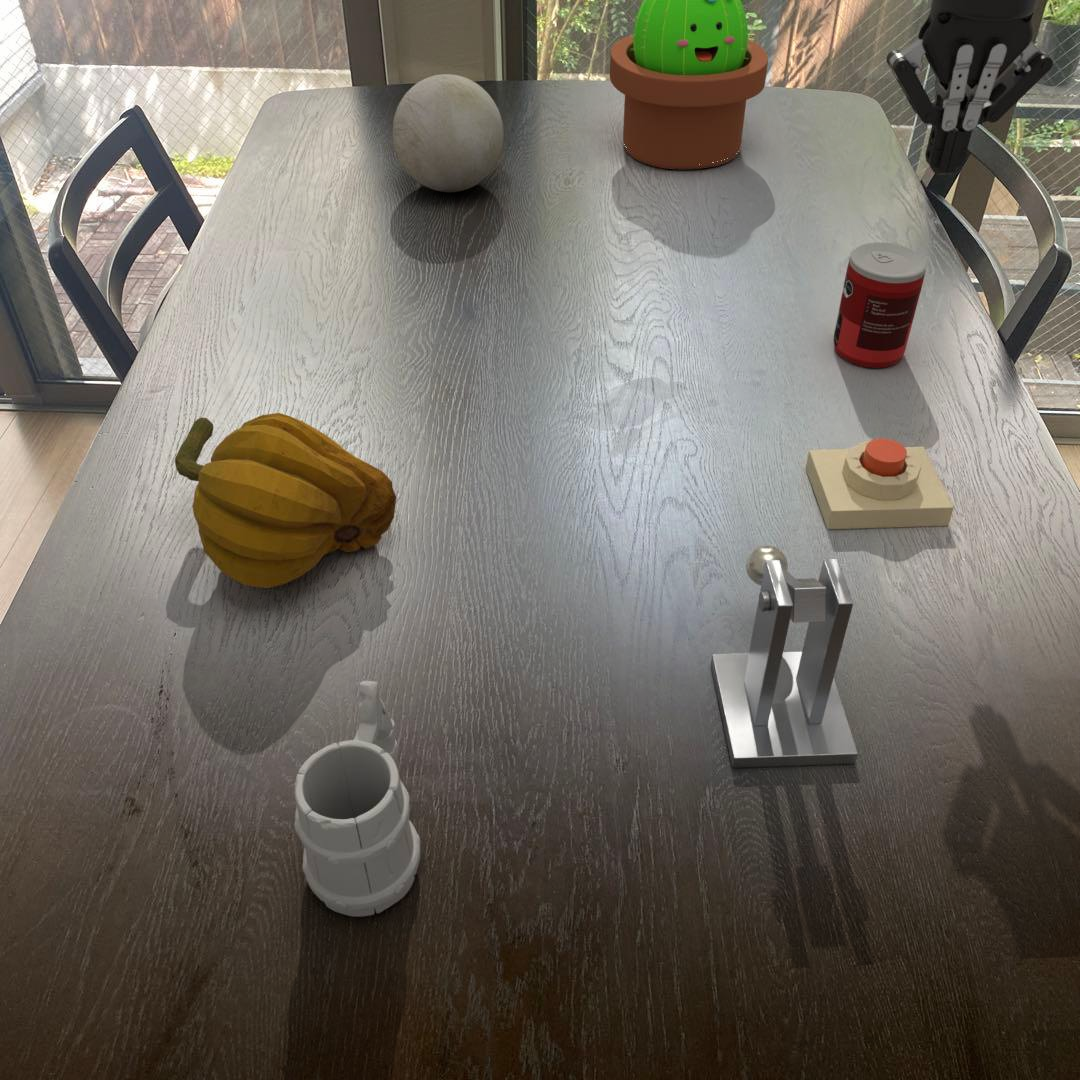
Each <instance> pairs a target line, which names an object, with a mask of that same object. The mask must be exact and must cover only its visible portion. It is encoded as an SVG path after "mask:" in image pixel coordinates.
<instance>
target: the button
mask: <svg viewBox="0 0 1080 1080" xmlns="http://www.w3.org/2000/svg"><path fill="white" fill-rule="evenodd" d="M869 441H870V442H868V444H867V445H866V448H865V452H864V457H863V461H862V464H863V467H864V468H865V469H866V470H867V471H869V472H870V473H872V474H875V475H879V476H882V477H894V476H897V475H899V474H900V473H901V472H902V470H903V467H904V463H905V459H906V456H907V451H906V449H905V447H906V446H904V445H903V444H901V442H899V441H896V440H894V439H891V438H885V437H884V438H883V437H881V438H874V439H871V440H869Z"/></svg>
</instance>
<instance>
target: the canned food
mask: <svg viewBox="0 0 1080 1080" xmlns="http://www.w3.org/2000/svg"><path fill="white" fill-rule="evenodd" d="M926 270H927V261H926V259H925V258H924V257H923V256H922V254H920V253H918V251H916V250H914V249H912V248H909V247H907V246H903V245H901V244H898V243H897V244H896V243H892V242H891V243H890V242H877V241H876V242H867V243H863V244H859V245H858V246H856V247H855V248H853V249H852V251H851V253H850V256H849V259H848V263H847V267H846V273H845V277H844V282H843V288H842V293H841V297H840V302H839V307H838V313H837V316H836V317H837V318H836V322H835V328H834V333H833V346H834V350H835V352H836V353H837V354H838V355H839V357H841V358H842V359H844V360H845V361H847V362H849V363H850V364H852V365H855V366H859V367H864V368H870V369H881V368H882V369H883V368H888V367H892V366H894V365H895V364H897V363H899V361H900V360H901V359H902V357H903V356H904V354H905V352H906V349H907V346H908V342H909V338H910V334H911V330H912V326H913V322H914V318H915V314H916V311H917V308H918V304H919V299H920V296H921V291H922V288H923V285H924V281H925V280H924V279H925V276H926V272H927V271H926Z"/></svg>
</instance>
